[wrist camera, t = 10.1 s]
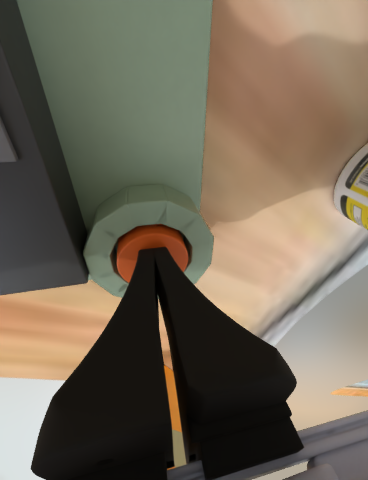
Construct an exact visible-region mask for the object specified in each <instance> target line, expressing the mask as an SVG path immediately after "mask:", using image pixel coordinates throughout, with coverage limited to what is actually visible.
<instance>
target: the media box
mask: <svg viewBox="0 0 368 480" xmlns="http://www.w3.org/2000/svg"><path fill="white" fill-rule="evenodd" d="M17 3H18V7H19V10H20V13H21V17H22V20H23V23H24V27H25V30H26V33H27V36H28V40H29V43H30V46H31V50H32V53H33V56H34V59H35V63H36V66H37V69H38V73H39V76H40V79H41V82H42V86H43V89H44V92H45V96H46V99H47V102H48V106H49V109H50V112H51V115H52V119H53V122H54V125H55V129H56V132H57V135H58V138H59V142H60V145H61V148H62V152H63V155H64V158H65V161H66V165H67V168H68V171H69V175H70V178H71V181H72V185H73V188H74V191H75V194H76V198H77V201H78V204H79V208H80V211H81V214H82V217H83V221H84V224H85V227H86V231H87V234H88V235H87V238H86V242H85V246H84V250H83V256H84V259H85V262H86V265H87V268H88V271H89V277H88V280H93V281H94V282H96V283H97V284H98V285H100V286H101V287H102V288H104V289H105V290H107V291H108V292H109V293H111V294H112V295H115V296H117V297H122V298H123V296H124V293H125V291H126V289H127V287H128V285H129V283H128V282H127V281H126V280H124V279H123V278H122V276H121V275H120V273H119V271H118V269H117V248H118V239H119V237H121V236H122V235H124V234H125V233H127V232H129V231H130V230H132V229H133V228H135V227H137V226H143V225H153V224H164V225H166V226H169V227H171V228H174V229H177V230H179V231H180V233H181V235H182V238H183V241H184V244H185V246H186V249H187V252H188V263H187V266H186V268H185V270H184V274H185V275H186V276H187V277H188V279H189V280H190V281H191V282H192V283H193V284H195V283H196V282H197V281H198V280H199V278H200V277H201V276H202V275H203V273H204V272H205V271H206V269H207V268H208V267H209V266H210V264H211V260H212V251H213V242H214V237H213V235H212V233H211V231H210V229H209V228H208V226H207V224H206V222H205V221H204V219H203V217H202V215H201V214H200V201H201V184H202V168H203V151H204V135H205V119H206V102H207V86H208V70H209V53H210V37H211V20H212V4H213V0H17ZM158 299H159V298H158Z"/></svg>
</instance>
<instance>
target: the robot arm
mask: <svg viewBox="0 0 368 480" xmlns="http://www.w3.org/2000/svg"><path fill="white" fill-rule="evenodd" d="M158 298H159V302H160V306H161V310H162V315H163V319H164V323H165V327H166V331H167V335H168V340H169V345H170V352H171V359H172V366H173V373H174V380H175V386H176V393H177V401H178V408H179V415H180V422H181V429H182V437H183V444H184V451H185V458H186V465H183V466H179V467H176V468H172V467H175V464H174V453H173V435H172V422H171V414H170V406H169V398H168V391H167V384H166V376H165V369H164V362H163V354H162V347H161V340H160V332H159V311H158ZM296 384H297V382H296V378H295V376H294V375H293V373H292V371H291V369H290V368H289V366H288V365H287V363H286V361H285V360H284V359H283V357H282V356H281V354H280V353H279V352H278V350H277V349H276V348H275V347H273V346H271V345H270V344H268V343H267V342H265V341H263V340H262V339H260V338H258V337H257V336H255V335H254V334H252V333H251V332H249V331H248V330H246V329H245V328H243V327H242V326H241V325H239V324H238V323H236V322H235V321H234V320H233V319H231V318H230V317H229V316H227V315H226V314H225V313H224V312H222V311H221V310H220V309H219V308H217V307H216V306H215V305H214V304H213V303H212V302H211V301H210V300H208V299H207V298H206V297H205V296H204V295H203V294H202V293H201V292H200V291H199V290H198V289H197V288H196V287H195V285H194V284H193V283H192V282H191V281H190V280H189V279H188V277H187V276H186V275H185V274H184V272H183V271H182V270H181V269H180V267H179V266H178V265H177V263H176V262H175V260H174V259H173V257H172V256H171V254H170V252H169V250H168V248H166V247H158V248H150V249H141V250H139V251H138V257H137V262H136V265H135V268H134V271H133V274H132V277H131V280H130V282H129V285H128V287H127V289H126V291H125V293H124V296H123V298H122V300H121V302H120V304H119V306H118V307H117V309H116V311H115V313H114V315H113V316H112V318H111V320H110V321H109V323H108V324H107V326H106V328H105V329H104V331H103V332H102V334H101V335H100V337H99V338H98V340H97V341H96V343H95V344H94V345H93V347H92V348H91V349H90V351H89V352H88V354H87V355H86V356H85V358H84V359H83V360H82V362H81V363H80V364H79V366H78V367H77V368H76V369H75V370H74V372H73V373H72V374H71V375H70V377H69V378H68V379H67V380H66V381H65V383H64V384H63V385H62V386H61V387H60V389H59V390H58V391H57V392H56V393H55V395H54V396H53V398H52V400H51V402H50V405H49V407H48V410H47V412H46V415H45V418H44V421H43V423H42V426H41V429H40V432H39V436H38V440H37V444H36V448H35V452H34V456H33V461H32V465H31V470H32V472H33V473H34V474H35V475H37V476H39V477H41V478H43V479H46V480H251V479H255V478H257V477H260V476H264V475H266V474H270V473H273V472H276V471H279V470H282V469H285V468H288V467H291V466H294V465H297V464H300V463H303V462H306V461H308V464H307V470H306V471H304V472H301V473H298V474H296V475H293V476H291V477H288V478H285V479H283V480H368V410H367V411H364V412H360V413H357V414H354V415H351V416H347V417H344V418H340V419H337V420H334V421H330V422H327V423H324V424H321V425H317V426H314V427H310V428H307V429H303V430H300V431H296V429H295V427H294V425H293V423H292V421H291V419H290V416H291V415H292V413H291V410H290V408H289V406H288V404H287V402H286V400H287V398H288V397H289V396H290V395H291V393H292V392H293V391H294V389H295V387H296ZM309 460H310V461H309ZM169 468H172V469H169ZM167 469H169V470H167Z"/></svg>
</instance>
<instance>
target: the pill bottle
mask: <svg viewBox="0 0 368 480" xmlns="http://www.w3.org/2000/svg"><path fill="white" fill-rule="evenodd" d="M334 204H335V206H336V208H337V210H338V211H339V212H340V213H341V214H342V215H344V216H345V217H347V218H348V219H350V220H352V221H353V222H355V223H357V224H358V225H360V226H362V227H363V228H365V229H367V230H368V143H367V144H366V145H365V146H364V147H362V148H361V149H360V150H359V151H358V152H357V153H356V154H355V155H354V156H353V157H352V158H351V160H350V161H349V162H348V163H347V165H346V166H345V168H344V169H343V171H342V172H341V174H340V176H339V178H338V180H337V183H336V186H335V190H334Z"/></svg>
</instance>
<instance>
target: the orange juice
mask: <svg viewBox="0 0 368 480" xmlns="http://www.w3.org/2000/svg"><path fill="white" fill-rule="evenodd" d="M164 369H165V376H166V384H167V391H168V398H169V406H170V414H171V422H172V435H173V453H174V464H175V467H172V468H176V467H179V466H183V465H186V458H185V451H184V444H183V437H182V429H181V422H180V415H179V408H178V401H177V393H176V386H175V380H174V373H173V371H172V370H171V369H169V368H168V367H167V366H165V365H164ZM172 468H169V469H172ZM169 469H167V470H169Z"/></svg>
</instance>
